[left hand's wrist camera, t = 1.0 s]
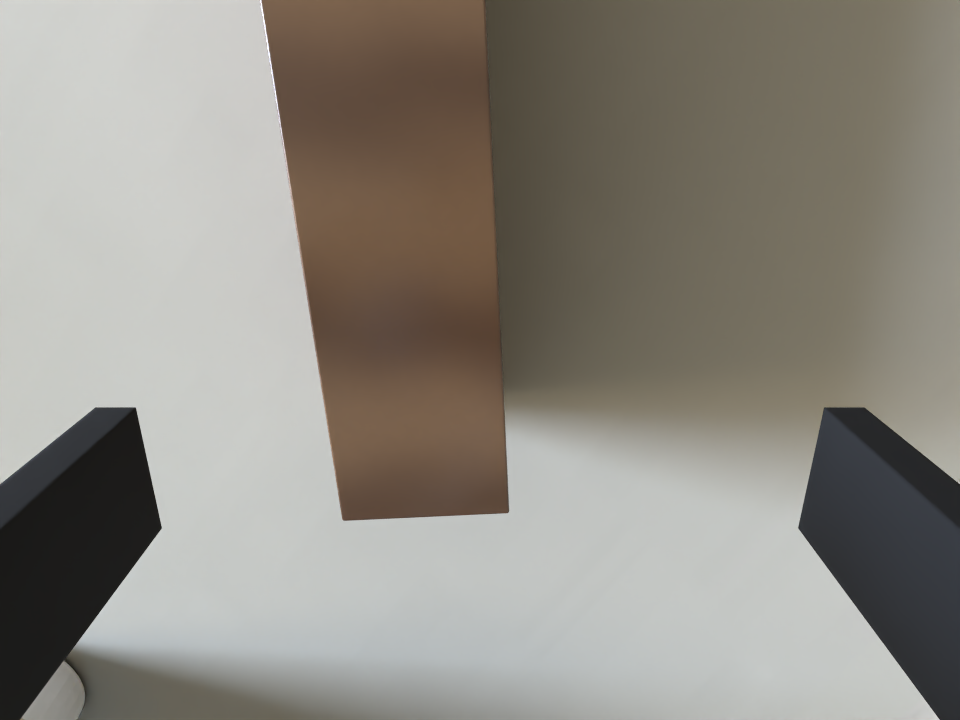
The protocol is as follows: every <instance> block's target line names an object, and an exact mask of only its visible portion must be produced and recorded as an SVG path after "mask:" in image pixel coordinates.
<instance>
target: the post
mask: <svg viewBox="0 0 960 720" xmlns="http://www.w3.org/2000/svg"><path fill="white" fill-rule="evenodd" d="M260 4H261V11H262V17H263V23H264V29H265V36H266V42H267V48H268V55H269V61H270V67H271V73H272V80H273V86H274V92H275V99H276V105H277V111H278V117H279V124H280V130H281V136H282V143H283V149H284V155H285V162H286V168H287V174H288V180H289V187H290V193H291V199H292V206H293V212H294V218H295V224H296V231H297V237H298V243H299V250H300V256H301V262H302V268H303V275H304V281H305V287H306V294H307V300H308V306H309V312H310V319H311V325H312V331H313V338H314V344H315V350H316V356H317V363H318V369H319V375H320V382H321V388H322V394H323V400H324V407H325V413H326V419H327V426H328V432H329V438H330V444H331V451H332V457H333V463H334V470H335V476H336V482H337V488H338V495H339V501H340V507H341V514H342V519H343V520H344V521H347V520H368V519H390V518H411V517H433V516H454V515H476V514H497V513H508V512H509V498H508V477H507V455H506V433H505V412H504V390H503V369H502V347H501V325H500V304H499V282H498V261H497V239H496V218H495V196H494V174H493V153H492V131H491V110H490V88H489V67H488V45H487V23H486V2H485V0H260Z"/></svg>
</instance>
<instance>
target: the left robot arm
mask: <svg viewBox="0 0 960 720" xmlns="http://www.w3.org/2000/svg"><path fill="white" fill-rule="evenodd" d="M161 528H162V527H161V522H160V518H159V513H158V509H157V504H156V499H155V495H154V490H153V485H152V481H151V476H150V471H149V467H148V462H147V458H146V453H145V448H144V444H143V439H142V434H141V430H140V425H139V420H138V416H137V411H136V408H94V409H93V410H92V411H91V412H89V413H88V414H87V415H86V416H84V417H83V418H82V419H81V420H80V421H78V422H77V423H76V424H75V425H73V426H72V427H71V428H70V429H68V430H67V431H66V432H65V433H63V434H62V435H61V436H60V437H58V438H57V439H56V440H55V441H53V442H52V443H51V444H50V445H48V446H47V447H46V448H45V449H44V450H42V451H41V452H40V453H39V454H37V455H36V456H35V457H34V458H32V459H31V460H30V461H29V462H27V463H26V464H25V465H24V466H22V467H21V468H20V469H19V470H17V471H16V472H15V473H14V474H13V475H11V476H10V477H9V478H8V479H6V480H5V481H4V482H3V483H1V484H0V720H20V719H21V718H22V716H23V715H24V714H25V712H26V711H27V710H28V708H29V707H30V706H31V704H32V703H33V702H34V700H35V699H36V698H37V696H38V695H39V693H40V692H41V691H42V689H43V688H44V687H45V685H46V684H47V683H48V681H49V680H50V679H51V677H52V676H53V675H54V673H55V672H56V670H57V669H58V668H59V666H60V665H61V664H62V662H63V661H64V660H65V658H66V657H67V656H68V654H69V653H70V652H71V650H72V649H73V647H74V646H75V645H76V643H77V642H78V641H79V639H80V638H81V637H82V635H83V634H84V633H85V631H86V630H87V629H88V627H89V626H90V625H91V623H92V622H93V620H94V619H95V618H96V616H97V615H98V614H99V612H100V611H101V610H102V608H103V607H104V606H105V604H106V603H107V602H108V600H109V599H110V597H111V596H112V595H113V593H114V592H115V591H116V589H117V588H118V587H119V585H120V584H121V583H122V581H123V580H124V579H125V577H126V576H127V574H128V573H129V572H130V570H131V569H132V568H133V566H134V565H135V564H136V562H137V561H138V560H139V558H140V557H141V556H142V554H143V553H144V551H145V550H146V549H147V547H148V546H149V545H150V543H151V542H152V541H153V539H154V538H155V537H156V535H157V534H158V533H159V531H160V530H161ZM798 528H799V530H800V531H801V533H802V534H803V535H804V537H805V538H806V539H807V541H808V542H809V543H810V545H811V546H812V547H813V549H814V550H815V551H816V553H817V554H818V556H819V557H820V558H821V560H822V561H823V562H824V564H825V565H826V566H827V568H828V569H829V570H830V572H831V573H832V574H833V576H834V577H835V579H836V580H837V581H838V583H839V584H840V585H841V587H842V588H843V589H844V591H845V592H846V593H847V595H848V596H849V597H850V599H851V600H852V602H853V603H854V604H855V606H856V607H857V608H858V610H859V611H860V612H861V614H862V615H863V616H864V618H865V619H866V620H867V622H868V623H869V625H870V626H871V627H872V629H873V630H874V631H875V633H876V634H877V635H878V637H879V638H880V639H881V641H882V642H883V643H884V645H885V646H886V647H887V649H888V650H889V652H890V653H891V654H892V656H893V657H894V658H895V660H896V661H897V662H898V664H899V665H900V666H901V668H902V669H903V670H904V672H905V673H906V675H907V676H908V677H909V679H910V680H911V681H912V683H913V684H914V685H915V687H916V688H917V689H918V691H919V692H920V693H921V695H922V696H923V698H924V699H925V700H926V702H927V703H928V704H929V706H930V707H931V708H932V710H933V711H934V712H935V714H936V715H937V716H938V718H939V719H940V720H960V484H959V483H957V482H956V481H955V480H954V479H952V478H951V477H950V476H949V475H947V474H946V473H945V472H944V471H943V470H941V469H940V468H939V467H938V466H936V465H935V464H934V463H933V462H931V461H930V460H929V459H928V458H926V457H925V456H924V455H923V454H921V453H920V452H919V451H918V450H916V449H915V448H914V447H913V446H912V445H910V444H909V443H908V442H907V441H905V440H904V439H903V438H902V437H900V436H899V435H898V434H897V433H895V432H894V431H893V430H892V429H890V428H889V427H888V426H887V425H885V424H884V423H883V422H882V421H880V420H879V419H878V418H877V417H876V416H874V415H873V414H872V413H871V412H869V411H868V410H867V409H866V408H824V411H823V416H822V420H821V425H820V430H819V434H818V439H817V444H816V448H815V453H814V458H813V462H812V467H811V471H810V476H809V481H808V485H807V490H806V495H805V499H804V504H803V509H802V513H801V518H800V522H799V527H798Z"/></svg>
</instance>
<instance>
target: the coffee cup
mask: <svg viewBox="0 0 960 720" xmlns="http://www.w3.org/2000/svg"><path fill="white" fill-rule="evenodd" d="M84 703H85V692H84V687H83V684H82V682H81V680H80V678H79V676H78V675H77V674H76V672H75V671H74V670H73V669H72V668H71V667H70V666H69V665H68V664H67V663H66V662H65V661H63V662H62V664H61V665H60V666H59V668H58V669H57V670H56V672H55V673H54V675H53V676H52V677H51V679H50V680H49V681H48V683H47V684H46V685H45V687H44V688H43V689H42V691H41V692H40V693H39V695H38V696H37V698H36V699H35V700H34V702H33V703H32V704H31V706H30V707H29V708H28V710H27V711H26V712H25V714H24V715H23V716H22V718H21V719H20V720H77V719H78V717H79V715H80V713H81V711H82V708H83V706H84Z"/></svg>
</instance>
